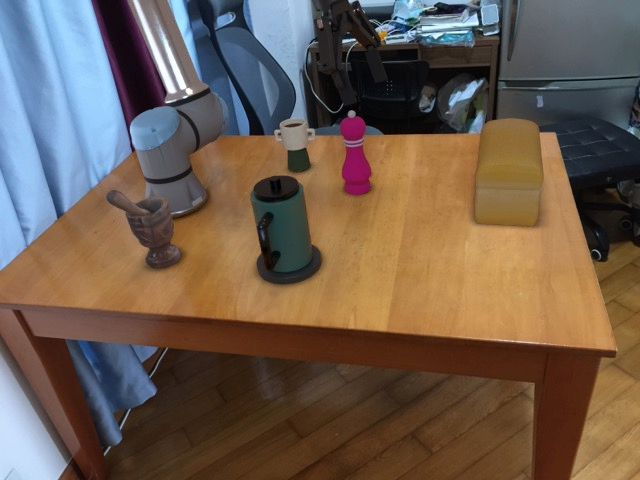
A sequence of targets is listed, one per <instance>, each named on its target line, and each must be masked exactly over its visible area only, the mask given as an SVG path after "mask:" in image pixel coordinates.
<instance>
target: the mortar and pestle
mask: <svg viewBox="0 0 640 480" xmlns="http://www.w3.org/2000/svg"><path fill="white" fill-rule="evenodd" d="M105 198H106V201H107V203H109V204H110V205H112V206H113V207H115V208H116V209H119V210H122V211H123V212H125V218H126V219H127V223H128V225H129V228H130V230H131V232H132V234H133V236H135V238H136V239H137V240H138V242H139V244H140V245H141V246H142V247H144V248H148V252H147V254H146V256H145V264H146V265H147V266H149V267H150V268H152V269H158V270H159V269H164V268H168V267H170V266H172V265H174V264H176V263H177V262H178V261H179V260H180V258H181V257H182V252H181V250H180V248H179V246H178V245H177V244H174V243H171V241H172V239H173V237H174V233H175V231H174V227H175V226H174V225H175V224H174V218H172V215H171V212H170V208H169V205H168V200H167V199H165V198H163V197H149V198H145V197H144V198H141V199H139V200H136V201H135V202H133V201H131V199H130V198H129V197H127V196H126V195H125V194H124V193H122V192H121V191H119V190H116V189H111V190H109V191H108V192H107V193H106V196H105Z"/></svg>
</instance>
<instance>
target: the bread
mask: <svg viewBox="0 0 640 480" xmlns="http://www.w3.org/2000/svg"><path fill="white" fill-rule="evenodd" d="M542 155H543V154H542V144H541V133H540V127H539V126H538V125H537V123H536V122H535V121H532V120H529V119H523V118H515V117H514V118H513V117H507V118H499V119H494V120H489V121H487V122H486V123H484V124H483V125H482V126H481V129H480V135H479V142H478V151H477V159H476V167H475V174H474V175H475V177H474V180H475V181H474V182H475V185H476V186H475V193H474V194H475V195H474V209H473V210H474V212H473V213H474V221H475V222H476V223H477V224H483V225H498V226H499V225H503V226H518V227H519V226H520V227H534V226H535V225H536V223H537V220H538V216H539V212H540V211H539V210H540V203H541V188H542V186H543V182H544V176H545V175H544V165H543V164H544V163H543V156H542Z"/></svg>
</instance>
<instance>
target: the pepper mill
mask: <svg viewBox="0 0 640 480" xmlns="http://www.w3.org/2000/svg"><path fill="white" fill-rule="evenodd" d="M356 114H357V113H356V111H354V110H349V111H348V112H347V117H345V118H343V119H342V121H340V124H339V132H340V134H341V136H342V141H343V142H342V143H343V145H344V147H345V158H344V161H343V164H342V167H341V178H342V180H343V181H345V182H344V191H345V192H346V193H347V194H349V195H354V196H358V195H363V194H366V193H368V192H369V191H370V190H371V180H370V179H371V177H372V167H371V164H370V162H369V160H368V158H367V157H366V155H365V152H364V144H365V143H366V142H365V141H366V140H365V136H364V135H365V133H366V131H367V126H366V122H365V121H364V119H363V118H362V117H360V116H357V115H356Z"/></svg>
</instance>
